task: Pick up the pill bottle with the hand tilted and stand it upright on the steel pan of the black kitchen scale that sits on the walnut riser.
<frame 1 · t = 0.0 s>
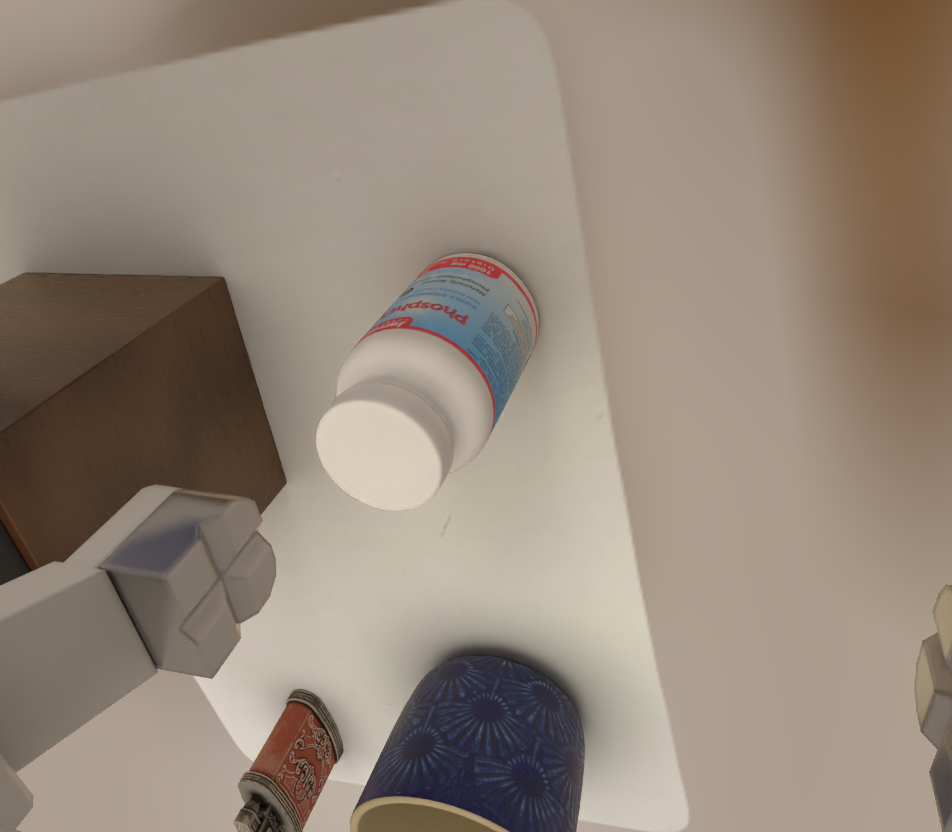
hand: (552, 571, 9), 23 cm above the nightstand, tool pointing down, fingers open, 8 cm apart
lighter: (318, 721, 58), on the nightstand
pill bottle: (477, 311, 33), on the nightstand
planter: (505, 695, 49), on the nightstand
walnut riser: (160, 381, 42), on the nightstand
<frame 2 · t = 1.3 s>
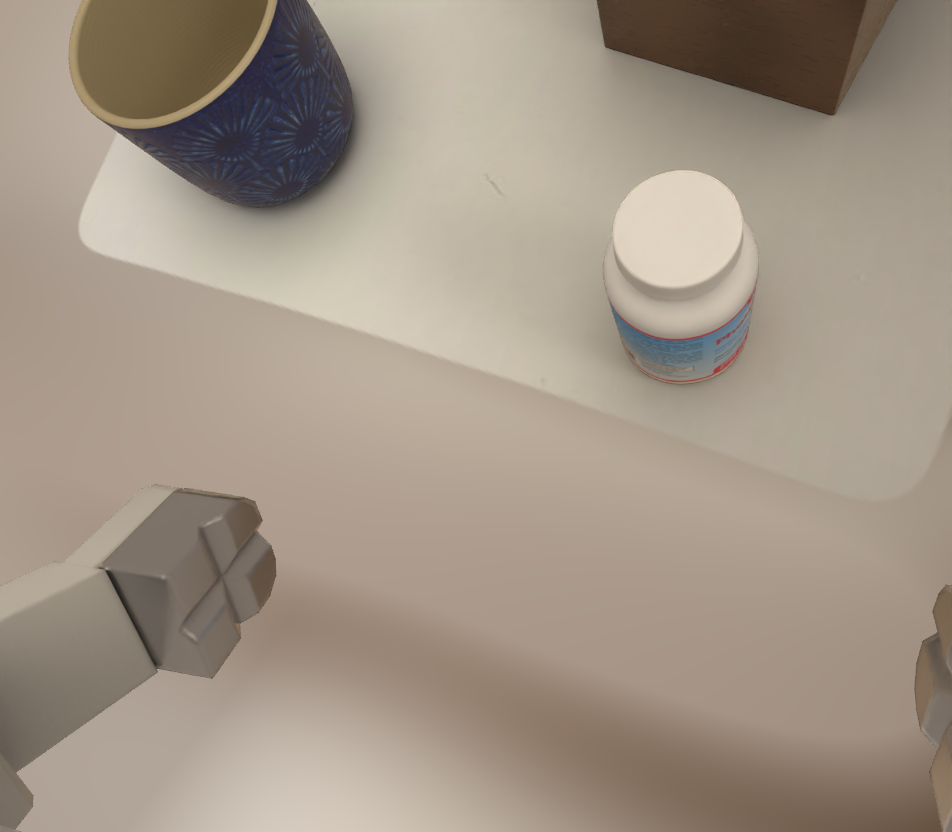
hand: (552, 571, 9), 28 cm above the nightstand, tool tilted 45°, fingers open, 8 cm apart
pill bottle: (683, 329, 37), on the nightstand
planter: (285, 139, 47), on the nightstand
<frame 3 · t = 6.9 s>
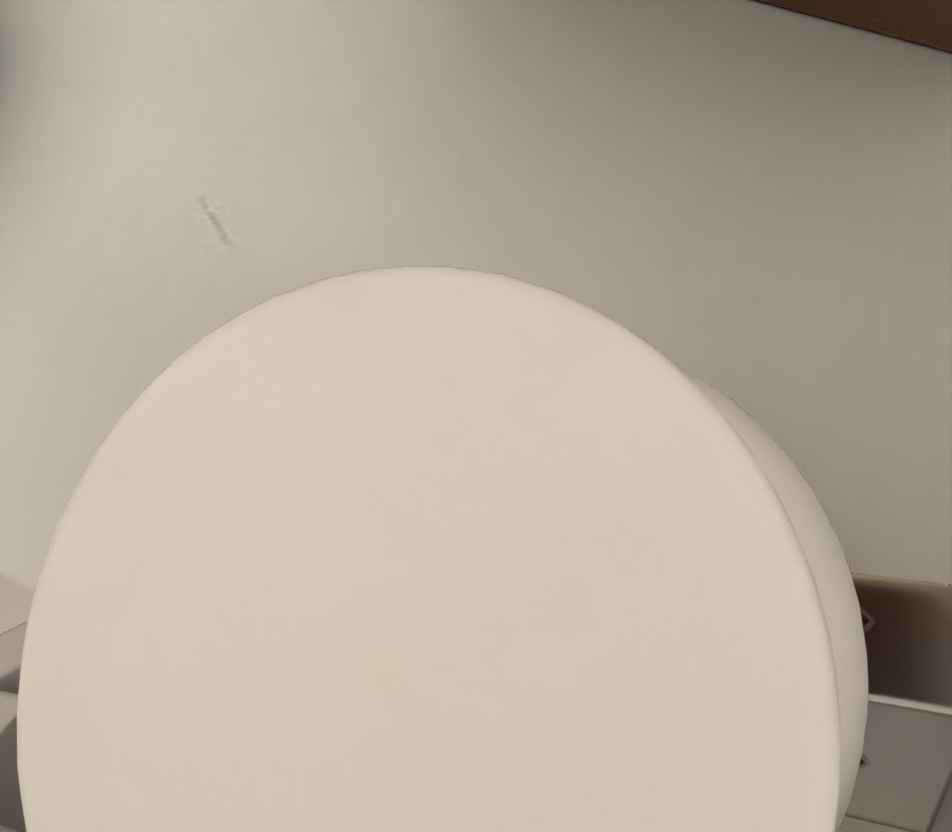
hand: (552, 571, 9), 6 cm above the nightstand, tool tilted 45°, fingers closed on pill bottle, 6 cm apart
pill bottle: (607, 607, 14), on the nightstand, touching gripper
when the fingers open (24 cm above the nightstand, at t = 16.9 s): pill bottle stays where it is, resting on kitchen scale.
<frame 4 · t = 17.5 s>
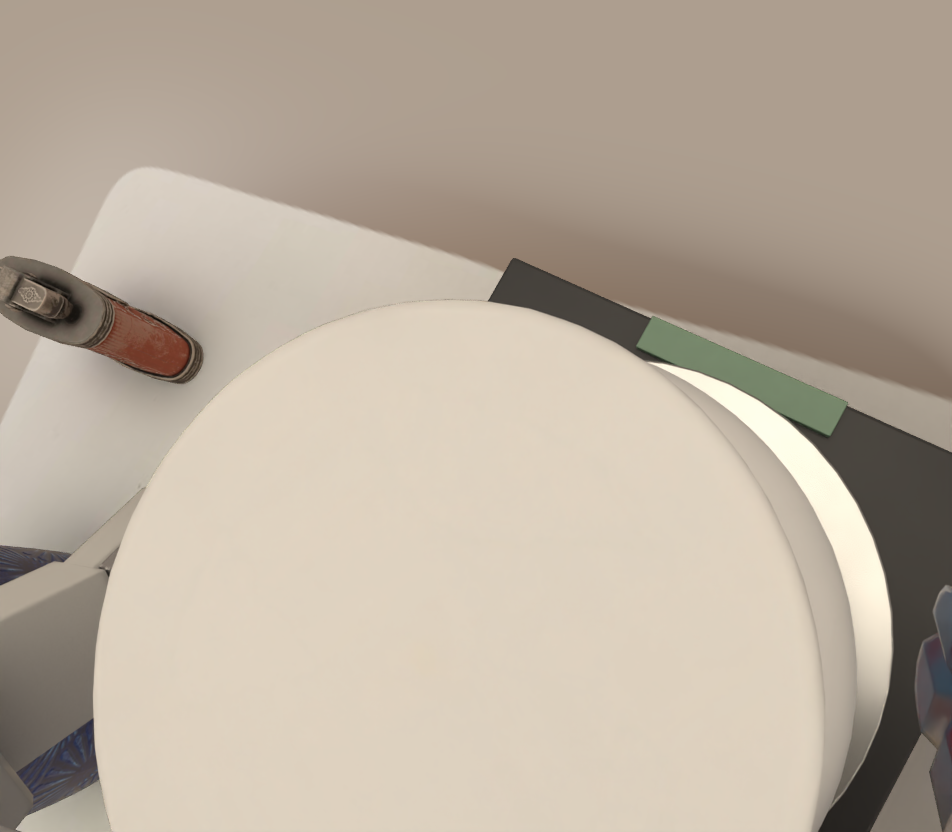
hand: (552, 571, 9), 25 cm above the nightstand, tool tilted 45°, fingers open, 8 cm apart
kitchen scale: (621, 600, 18), resting on walnut riser
lighter: (151, 345, 43), on the nightstand
pill bottle: (611, 605, 15), point 18 cm above the nightstand, touching kitchen scale
planter: (97, 666, 39), on the nightstand
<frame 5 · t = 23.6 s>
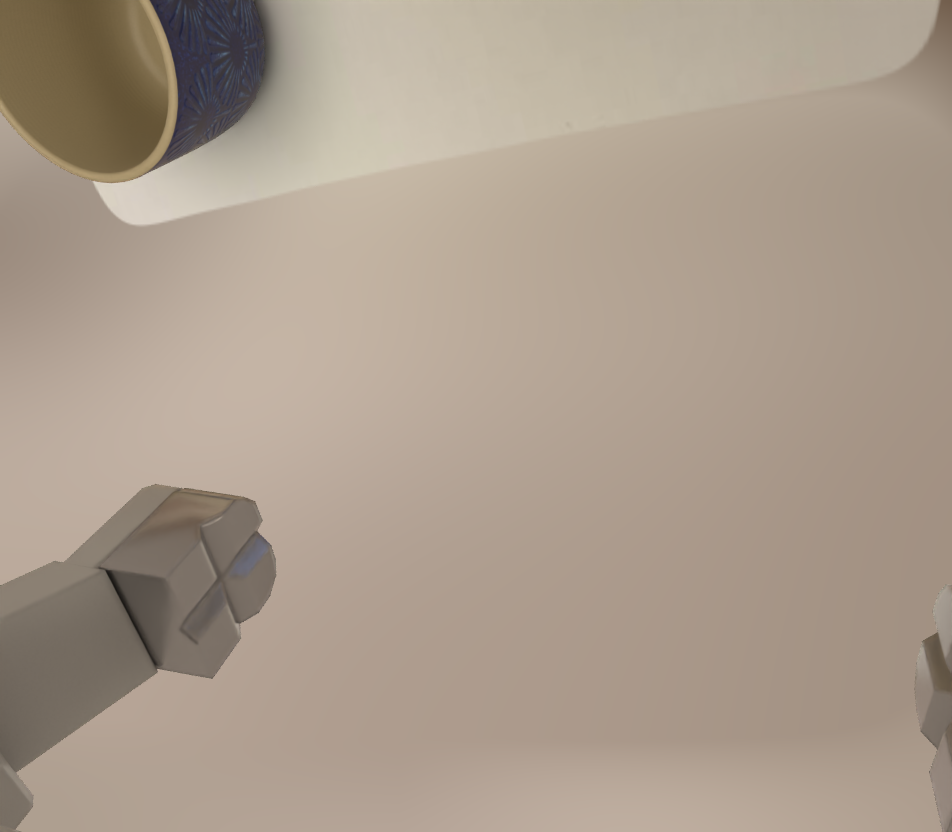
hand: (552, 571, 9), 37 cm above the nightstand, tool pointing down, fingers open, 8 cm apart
planter: (198, 30, 45), on the nightstand
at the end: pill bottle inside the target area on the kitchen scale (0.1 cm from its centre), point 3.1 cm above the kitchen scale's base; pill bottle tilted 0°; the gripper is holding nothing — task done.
